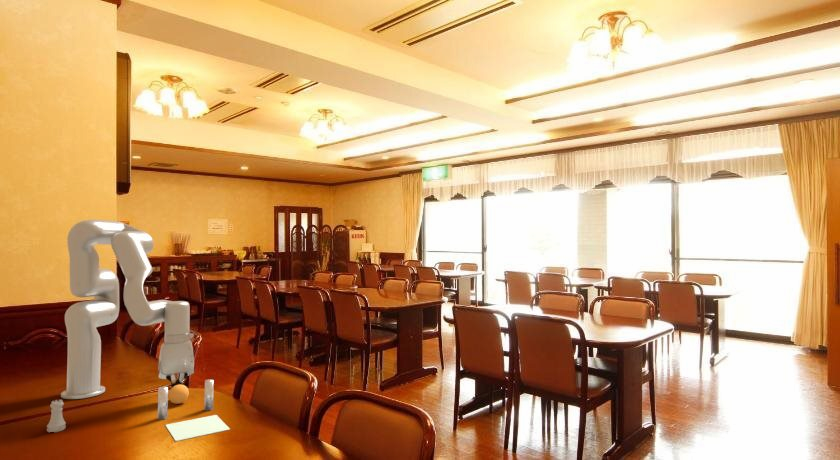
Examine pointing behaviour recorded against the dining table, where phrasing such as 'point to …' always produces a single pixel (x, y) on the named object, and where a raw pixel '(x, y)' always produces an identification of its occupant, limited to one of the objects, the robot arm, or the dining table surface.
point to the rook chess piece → (56, 417)
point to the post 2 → (208, 395)
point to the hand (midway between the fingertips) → (176, 393)
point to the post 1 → (162, 402)
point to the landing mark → (196, 427)
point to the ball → (178, 394)
